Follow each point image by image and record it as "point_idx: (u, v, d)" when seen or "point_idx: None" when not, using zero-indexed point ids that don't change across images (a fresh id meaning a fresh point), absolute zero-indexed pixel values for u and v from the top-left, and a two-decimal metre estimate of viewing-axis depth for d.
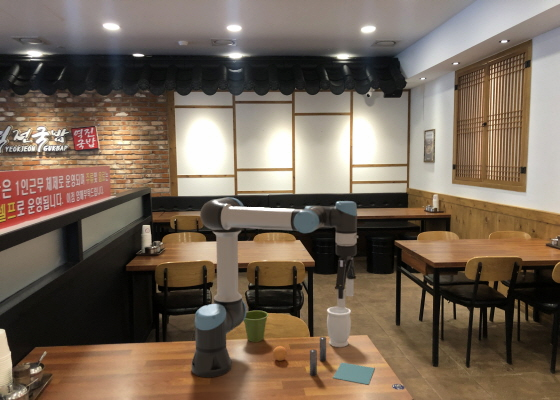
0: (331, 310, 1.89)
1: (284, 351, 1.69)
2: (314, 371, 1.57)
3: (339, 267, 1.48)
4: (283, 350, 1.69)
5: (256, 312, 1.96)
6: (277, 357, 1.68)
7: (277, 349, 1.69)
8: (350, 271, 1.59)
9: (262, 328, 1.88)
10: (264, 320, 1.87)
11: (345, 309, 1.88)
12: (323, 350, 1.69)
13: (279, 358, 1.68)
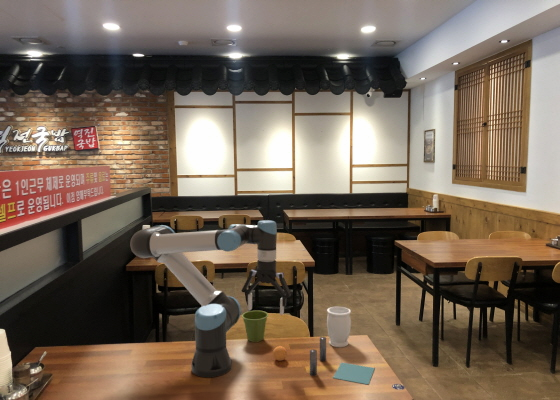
0: (331, 310, 1.89)
1: (284, 351, 1.69)
2: (314, 371, 1.57)
3: None
4: (283, 350, 1.69)
5: (256, 312, 1.96)
6: (277, 357, 1.68)
7: (277, 349, 1.69)
8: None
9: (262, 328, 1.88)
10: (264, 320, 1.87)
11: (345, 309, 1.88)
12: (323, 350, 1.69)
13: (279, 358, 1.68)
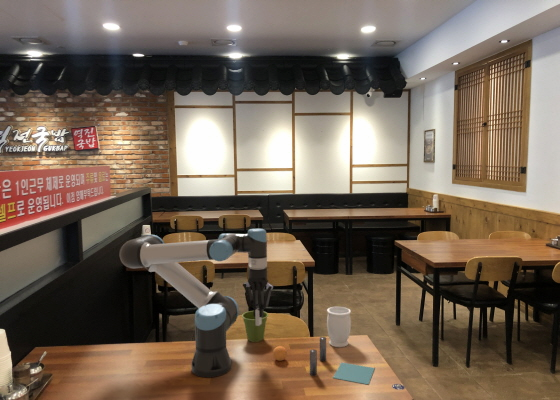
0: (331, 310, 1.89)
1: (284, 351, 1.69)
2: (314, 371, 1.57)
3: None
4: (283, 350, 1.69)
5: None
6: (277, 357, 1.68)
7: (277, 349, 1.69)
8: None
9: (262, 328, 1.88)
10: (264, 320, 1.87)
11: (345, 309, 1.88)
12: (323, 350, 1.69)
13: (279, 358, 1.68)
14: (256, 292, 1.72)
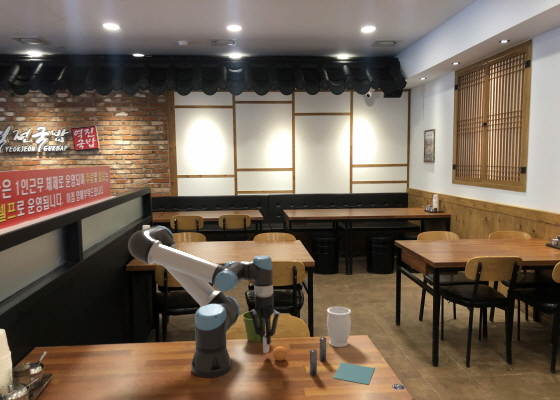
0: (331, 310, 1.89)
1: (284, 351, 1.69)
2: (314, 371, 1.57)
3: None
4: (283, 350, 1.69)
5: (256, 312, 1.96)
6: (277, 357, 1.68)
7: (277, 349, 1.69)
8: None
9: None
10: None
11: (345, 309, 1.88)
12: (323, 350, 1.69)
13: (279, 358, 1.68)
14: (263, 319, 1.72)
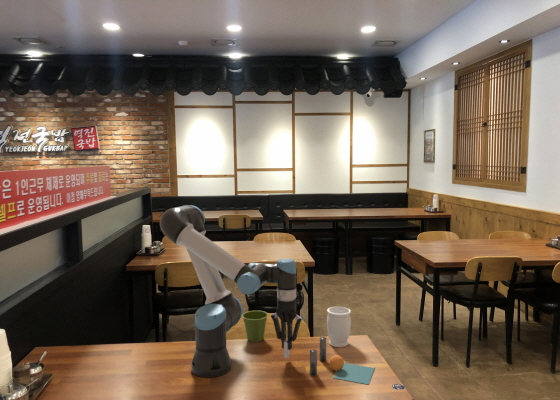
0: (331, 310, 1.89)
1: None
2: (314, 371, 1.57)
3: None
4: None
5: (256, 312, 1.96)
6: (333, 365, 1.60)
7: (341, 366, 1.60)
8: None
9: (262, 328, 1.88)
10: (264, 320, 1.87)
11: (345, 309, 1.88)
12: (323, 350, 1.69)
13: (332, 365, 1.60)
14: (285, 324, 1.68)
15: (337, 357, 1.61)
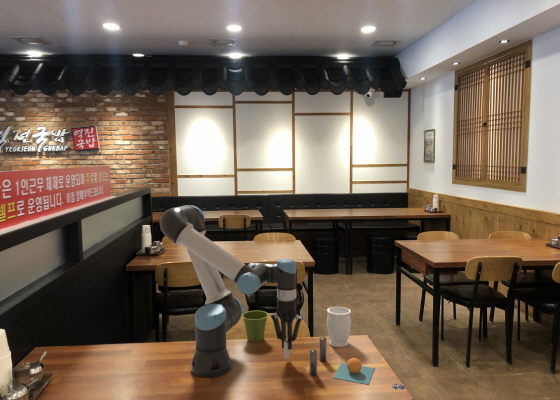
0: (331, 310, 1.89)
1: (348, 361, 1.59)
2: (314, 371, 1.57)
3: None
4: (347, 362, 1.60)
5: (256, 312, 1.96)
6: (354, 368, 1.57)
7: (348, 369, 1.59)
8: None
9: (262, 328, 1.88)
10: (264, 320, 1.87)
11: (345, 309, 1.88)
12: (323, 350, 1.69)
13: (354, 366, 1.57)
14: (285, 324, 1.68)
15: None
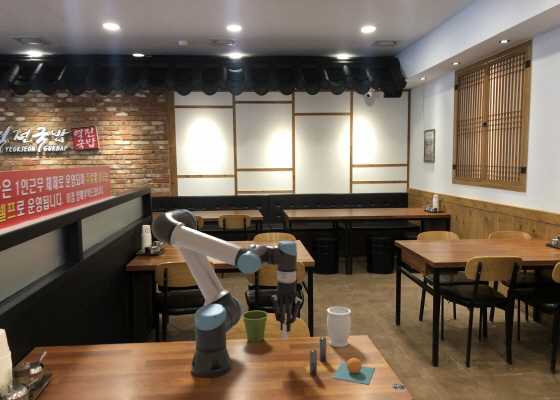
0: (331, 310, 1.89)
1: (348, 361, 1.59)
2: (314, 371, 1.57)
3: None
4: (347, 362, 1.60)
5: (256, 312, 1.96)
6: (354, 368, 1.57)
7: (348, 369, 1.59)
8: None
9: (262, 328, 1.88)
10: (264, 320, 1.87)
11: (345, 309, 1.88)
12: (323, 350, 1.69)
13: (354, 366, 1.57)
14: (284, 306, 1.68)
15: None
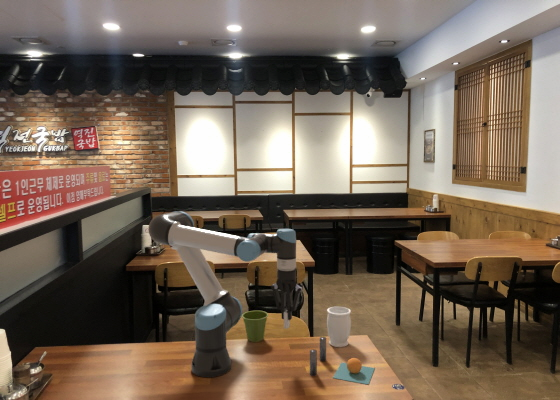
0: (331, 310, 1.89)
1: (348, 361, 1.59)
2: (314, 371, 1.57)
3: None
4: (347, 362, 1.60)
5: (256, 312, 1.96)
6: (354, 368, 1.57)
7: (348, 369, 1.59)
8: None
9: (262, 328, 1.88)
10: (264, 320, 1.87)
11: (345, 309, 1.88)
12: (323, 350, 1.69)
13: (354, 366, 1.57)
14: (284, 294, 1.67)
15: None
